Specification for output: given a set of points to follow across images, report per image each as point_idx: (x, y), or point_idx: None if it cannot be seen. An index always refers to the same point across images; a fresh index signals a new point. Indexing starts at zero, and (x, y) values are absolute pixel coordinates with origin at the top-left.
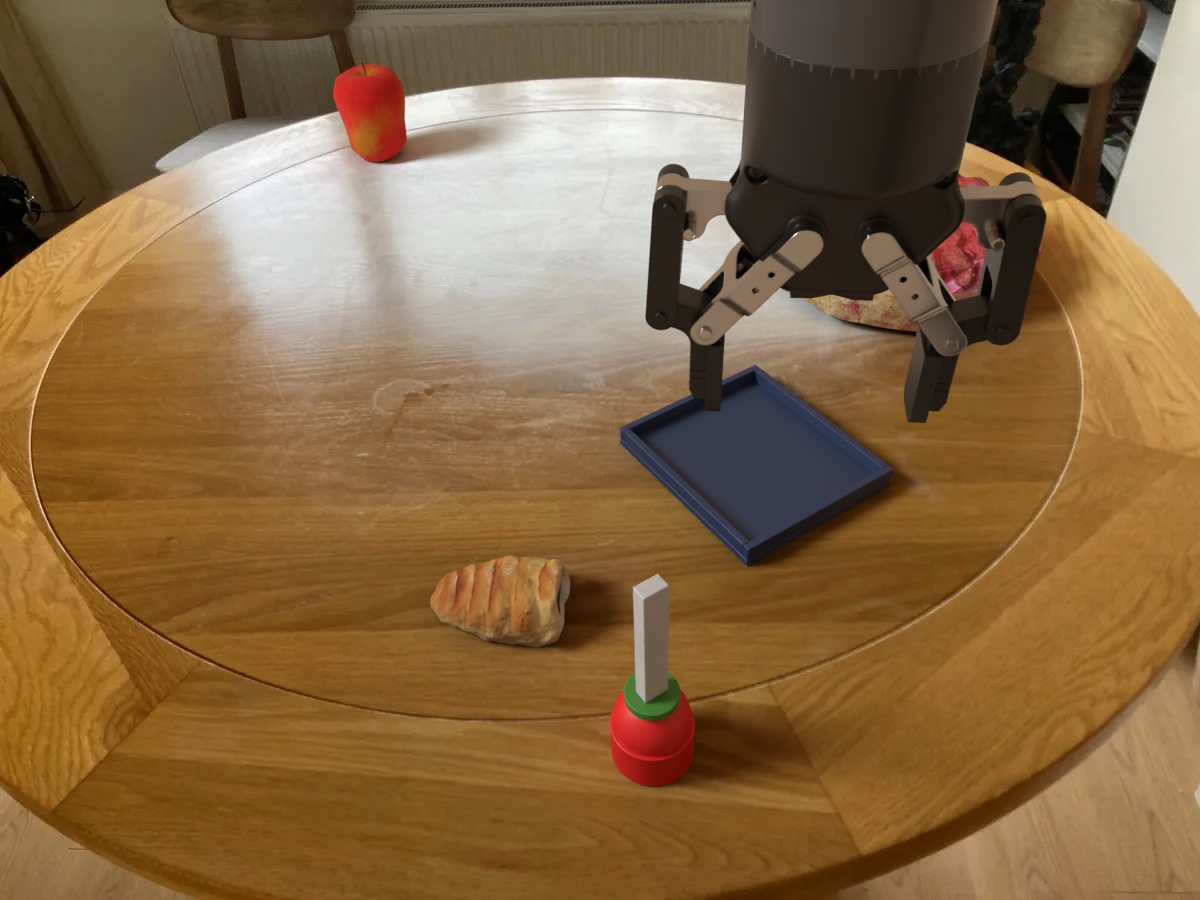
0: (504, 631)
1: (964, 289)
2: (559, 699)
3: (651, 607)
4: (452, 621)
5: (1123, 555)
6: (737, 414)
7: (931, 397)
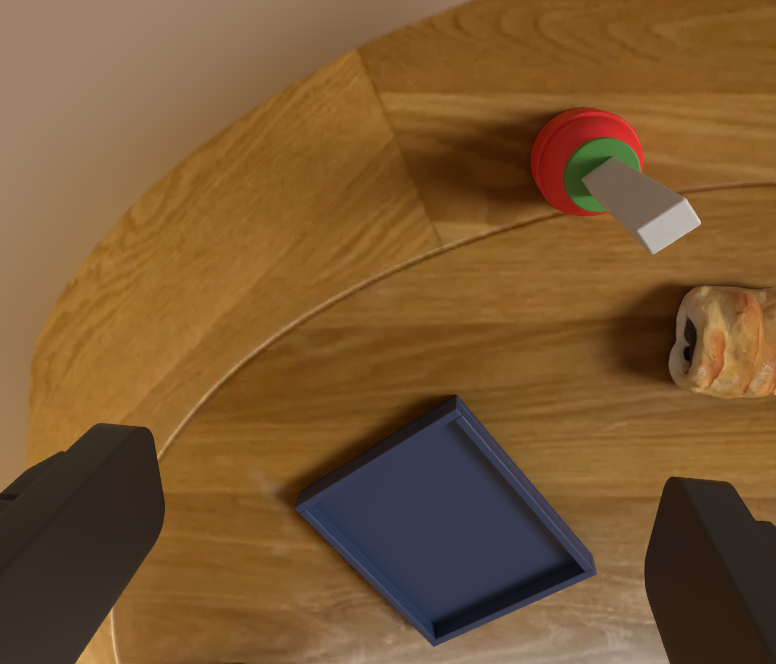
0: (764, 293)
1: None
2: None
3: (660, 200)
4: None
5: (86, 407)
6: (456, 585)
7: (41, 476)
